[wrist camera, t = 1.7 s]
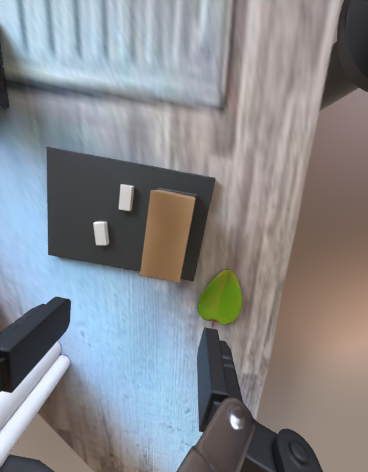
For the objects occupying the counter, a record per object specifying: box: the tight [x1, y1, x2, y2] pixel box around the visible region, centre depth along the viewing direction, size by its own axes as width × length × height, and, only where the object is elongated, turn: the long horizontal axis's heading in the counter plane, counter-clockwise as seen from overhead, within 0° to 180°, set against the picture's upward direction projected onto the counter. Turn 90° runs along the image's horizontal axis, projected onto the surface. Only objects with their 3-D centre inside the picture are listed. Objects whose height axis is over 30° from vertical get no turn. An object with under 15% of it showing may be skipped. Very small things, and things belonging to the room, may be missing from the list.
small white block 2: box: [119, 184, 134, 211], centre depth 24 cm, size 2×3×1 cm, turn 170°
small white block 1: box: [93, 222, 109, 245], centre depth 26 cm, size 2×3×1 cm, turn 0°
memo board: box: [47, 147, 215, 281], centre depth 26 cm, size 22×15×1 cm
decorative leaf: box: [198, 270, 242, 327], centre depth 29 cm, size 8×9×1 cm
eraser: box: [140, 188, 197, 282], centre depth 23 cm, size 5×10×6 cm, turn 170°
